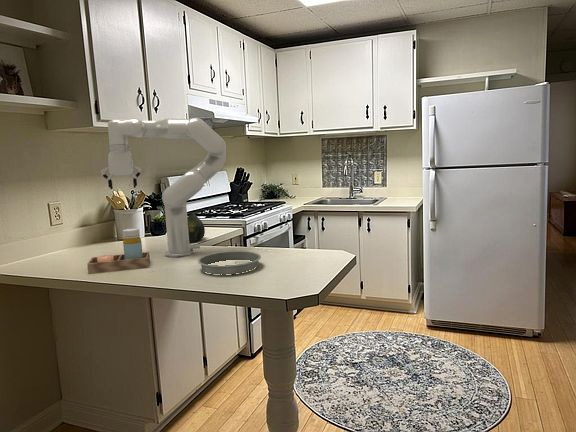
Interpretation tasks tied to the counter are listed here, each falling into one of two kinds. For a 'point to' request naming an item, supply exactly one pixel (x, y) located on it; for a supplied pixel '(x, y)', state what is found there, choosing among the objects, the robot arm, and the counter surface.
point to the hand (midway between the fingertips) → (123, 188)
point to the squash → (195, 228)
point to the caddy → (118, 264)
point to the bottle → (132, 244)
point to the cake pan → (229, 256)
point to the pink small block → (105, 258)
